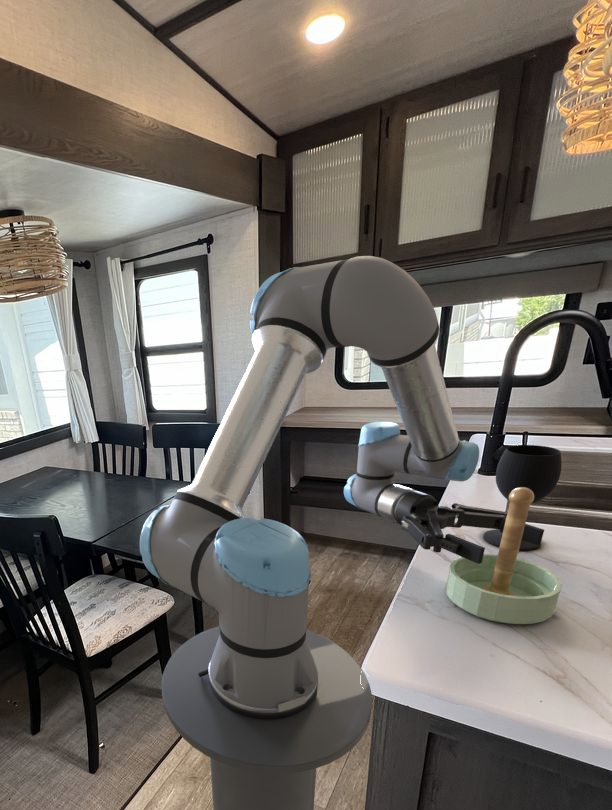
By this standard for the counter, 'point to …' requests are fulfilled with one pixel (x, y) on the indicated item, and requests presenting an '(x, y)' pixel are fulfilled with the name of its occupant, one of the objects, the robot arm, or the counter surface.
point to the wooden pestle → (511, 540)
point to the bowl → (527, 606)
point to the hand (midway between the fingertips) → (512, 546)
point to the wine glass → (526, 478)
